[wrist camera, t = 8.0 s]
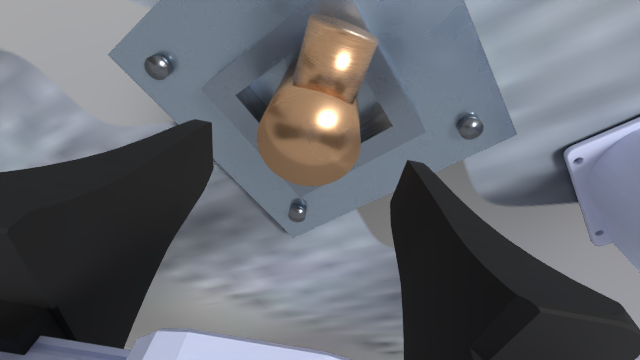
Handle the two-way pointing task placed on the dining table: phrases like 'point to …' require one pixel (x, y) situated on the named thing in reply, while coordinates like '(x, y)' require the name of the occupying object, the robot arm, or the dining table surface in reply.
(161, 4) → the flange plate
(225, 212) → the dining table surface
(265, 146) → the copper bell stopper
